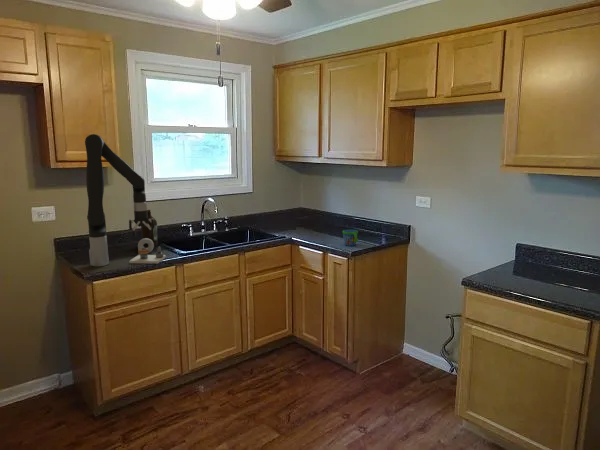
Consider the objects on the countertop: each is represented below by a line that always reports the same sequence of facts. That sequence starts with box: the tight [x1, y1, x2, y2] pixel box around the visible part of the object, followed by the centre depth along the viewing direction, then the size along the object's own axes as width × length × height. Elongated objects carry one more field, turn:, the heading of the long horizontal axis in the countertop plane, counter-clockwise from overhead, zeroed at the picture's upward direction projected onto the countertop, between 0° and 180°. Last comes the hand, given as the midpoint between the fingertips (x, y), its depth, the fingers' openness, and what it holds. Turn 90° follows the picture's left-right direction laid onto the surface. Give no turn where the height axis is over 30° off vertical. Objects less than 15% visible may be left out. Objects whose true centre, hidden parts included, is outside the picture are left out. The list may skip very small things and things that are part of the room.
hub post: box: [155, 246, 164, 258], centre depth 273 cm, size 4×4×6 cm
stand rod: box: [139, 246, 149, 259], centre depth 270 cm, size 4×4×6 cm
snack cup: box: [342, 229, 359, 247], centre depth 309 cm, size 16×10×10 cm
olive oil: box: [140, 209, 158, 248], centre depth 307 cm, size 11×11×25 cm
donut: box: [137, 238, 155, 253], centre depth 288 cm, size 10×4×10 cm, turn 113°
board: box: [129, 254, 167, 265], centre depth 272 cm, size 17×14×2 cm
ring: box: [137, 247, 150, 255], centre depth 270 cm, size 6×6×2 cm
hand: (142, 236), depth 268 cm, fingers open, 8 cm apart
